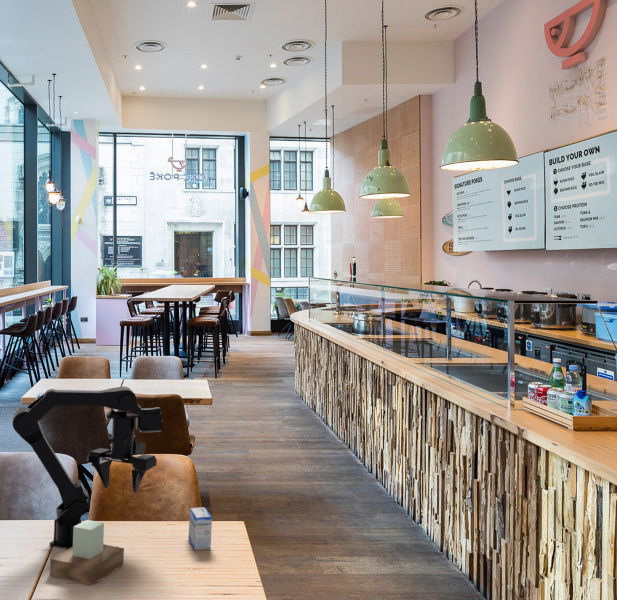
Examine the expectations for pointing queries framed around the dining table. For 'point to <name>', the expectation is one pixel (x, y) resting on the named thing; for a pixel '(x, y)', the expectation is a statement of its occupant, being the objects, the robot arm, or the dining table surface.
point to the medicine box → (200, 528)
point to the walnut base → (86, 565)
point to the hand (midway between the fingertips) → (120, 490)
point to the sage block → (88, 539)
